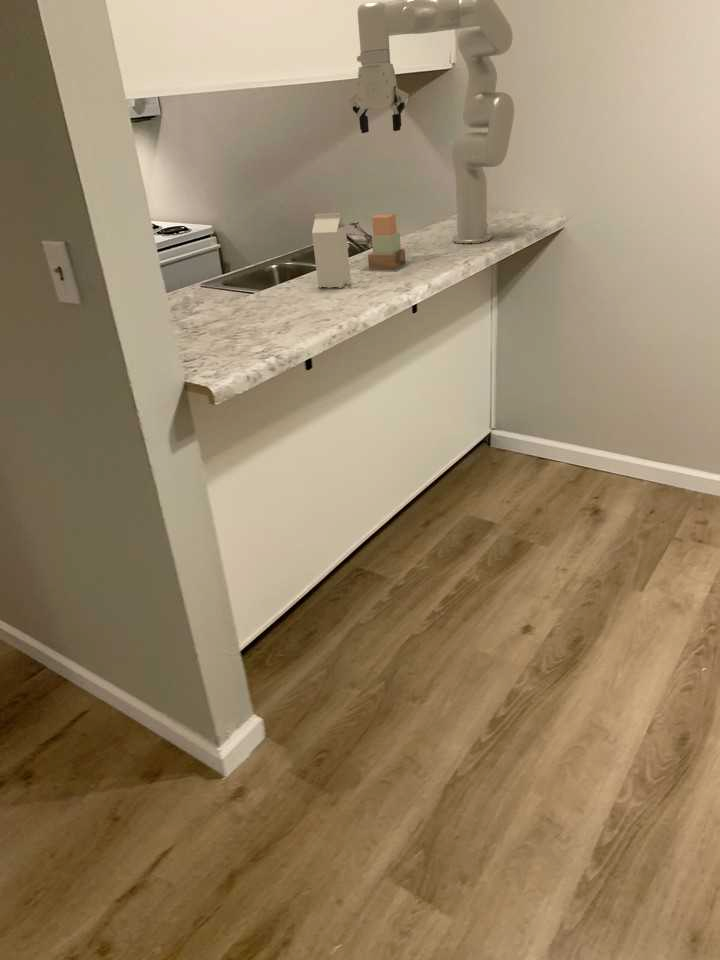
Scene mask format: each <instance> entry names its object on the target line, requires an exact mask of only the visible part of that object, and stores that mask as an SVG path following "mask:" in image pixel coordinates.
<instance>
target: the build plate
mask: <svg viewBox="0 0 720 960" xmlns="http://www.w3.org/2000/svg"><path fill="white" fill-rule="evenodd" d="M405 262H406V263H404V264H403V265H401V266H399V267H397V268H396V269H394V270H388V269H369V265H367V266H366V267H363V268H362V269H360V270H359V271H362V272H368V271H369V272H387V273H388V272H393V273H398V272H400V271H401V270H403V269H404V268H406V267H407V266H410V265H411V264H413V263H414V262H415V261H414V260H413V261H412V260H405Z"/></svg>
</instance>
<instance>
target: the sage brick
mask: <svg viewBox="0 0 720 960" xmlns="http://www.w3.org/2000/svg"><path fill="white" fill-rule="evenodd" d="M400 232H401V231H397V232H396V233H394V234H392V235H390V236H373V235H372V236H371V242H372V243H371V245H372V252H373V254H394V253H395V252H397V251H399V250H401V249H402V248H401V234H400Z"/></svg>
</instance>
